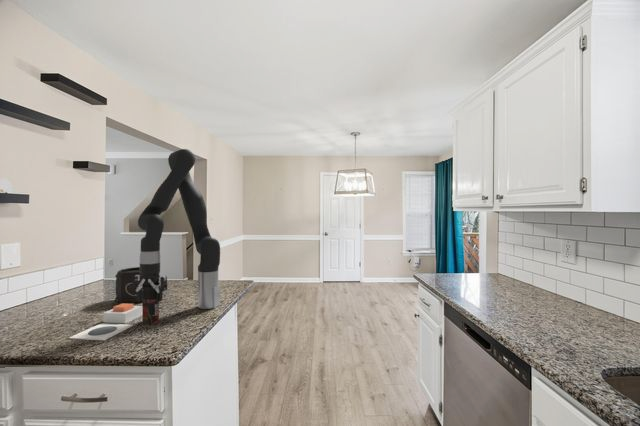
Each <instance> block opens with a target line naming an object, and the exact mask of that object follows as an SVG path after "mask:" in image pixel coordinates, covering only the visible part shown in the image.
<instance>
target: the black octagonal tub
mask: <svg viewBox="0 0 640 426" xmlns="http://www.w3.org/2000/svg"><path fill="white" fill-rule="evenodd" d="M139 270H140V266H138V267H137V266H136V267H127V268H124V269H119V270H117V273H116V274H115V276H114V277H115V278H116V279H115V295H116V296H115V298H114V299H115V300H116V301H117V303H119V304H122V303H127V304H134V305H135V304H140V303H141V304H142V300H141V301H138V299H137V292H136V291H135V290H132V281H133V276H135V275H139V276H140V273H139ZM140 283H141V281H140V280H139V284H140Z"/></svg>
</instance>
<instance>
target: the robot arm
mask: <svg viewBox="0 0 640 426" xmlns="http://www.w3.org/2000/svg"><path fill="white" fill-rule="evenodd" d="M167 159H168V160H167V163H168V165H169V168H170V170H171V171H170V172H169V174H168V176H167V177H166V178H165V179H164V181H162V183H161V184H160V185H159V187H158V188H157V189H156V191H155V193H154V195H153V197H152V199H151V201H150V203H149V204H148V205H147V206H146V207H145V209H144V210H143V211H141V213H140V215H139V217H138V220H137V225H138V227H139V229H141V230H143V231H146V232H145V236H143V237H142V238H141V239H140V251H139V252H140V253H139V267H140V270H139V273H140V276H139V275H135V276H133V281H132V290H135V291H136V292H137V299H138V301H141V300H142V286H152V287H153V288H154V289H155V290H156V291H157V300H156V301H157V302H159V303H160V302H161V301H162V300H163V292H165V291H167V290H168V277H167V275H163V276H161V275H160V273H161V243H160V242H161V238H162V235H163V232H164V228H165V227H164V225H165V224H164V219H163V217H162V216H161V214H163V213H164V212H167V210H168V209H169V206H170V205H171V203H172V201H173V199H174V197H175V196H176V193H177V191H179V195H180V198H181V201H182V204H183V205H182V206H183V208H184V210H185V214H186V217H187V220H188V222H189V225H190V228H191V230H192V235H193V240H194V246H195V249H196V252H197V253H198V254H199V255H200V260H199V261H200V262H199V265H198V266H197V305H198V306H197V307H198V309H200V310H209V309H216V308H217V307H219V306H220V305H221V285H220V284H219V266H220V264H221V245H220V244H221V243H220V242H219V240H218V239H216V238H215V237H212V236H211V234H210V233H211V232H210V230H209V228H208V214H207V213H208V212H207V207H206V206H207V205H206V203H205V200H204V196H203V194H202V193H201V191H200V189H199V188H198V187H197V186H196V184H195V183H194V182H193V180H192V177H191V174H190V171H191V169H193V167H194V166H195V164H196V156H195V154H194V152H192V151H191V150H189V149H187V148H182V149H178V150H176V151H173V152H171V153H170V154H169V155H168V158H167ZM139 280H140V281H141V283H140V284H139ZM156 284H157V285H156Z"/></svg>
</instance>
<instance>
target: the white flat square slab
mask: <svg viewBox="0 0 640 426" xmlns="http://www.w3.org/2000/svg"><path fill="white" fill-rule="evenodd" d="M132 327H134V324H127V323H105V322H103V323H99V324H97V325H95V326H92V327H90V328H87V329H86V330H83V331H81V332H78V333H76V334H74V335H72V336H70V337H68V339H71V340H89V341H106V340H109V339H110V338H111V337H115V336H117V335H118V334H120V333H122V332H124V331H125V330H128V329H130V328H132Z"/></svg>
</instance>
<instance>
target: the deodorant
mask: <svg viewBox="0 0 640 426" xmlns="http://www.w3.org/2000/svg"><path fill="white" fill-rule="evenodd" d="M156 285H157V284H156ZM156 300H157V291H156V290H155V289H154V288H153V287H152V286H142V303H141V304H142V305H141V306H142V309H143V315H142V324H143V325H152V324H153V325H154V324H157V323H159V321H160V317H159V316H160V309H159V308H160V307H159V306H160V302H157V301H156Z"/></svg>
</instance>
